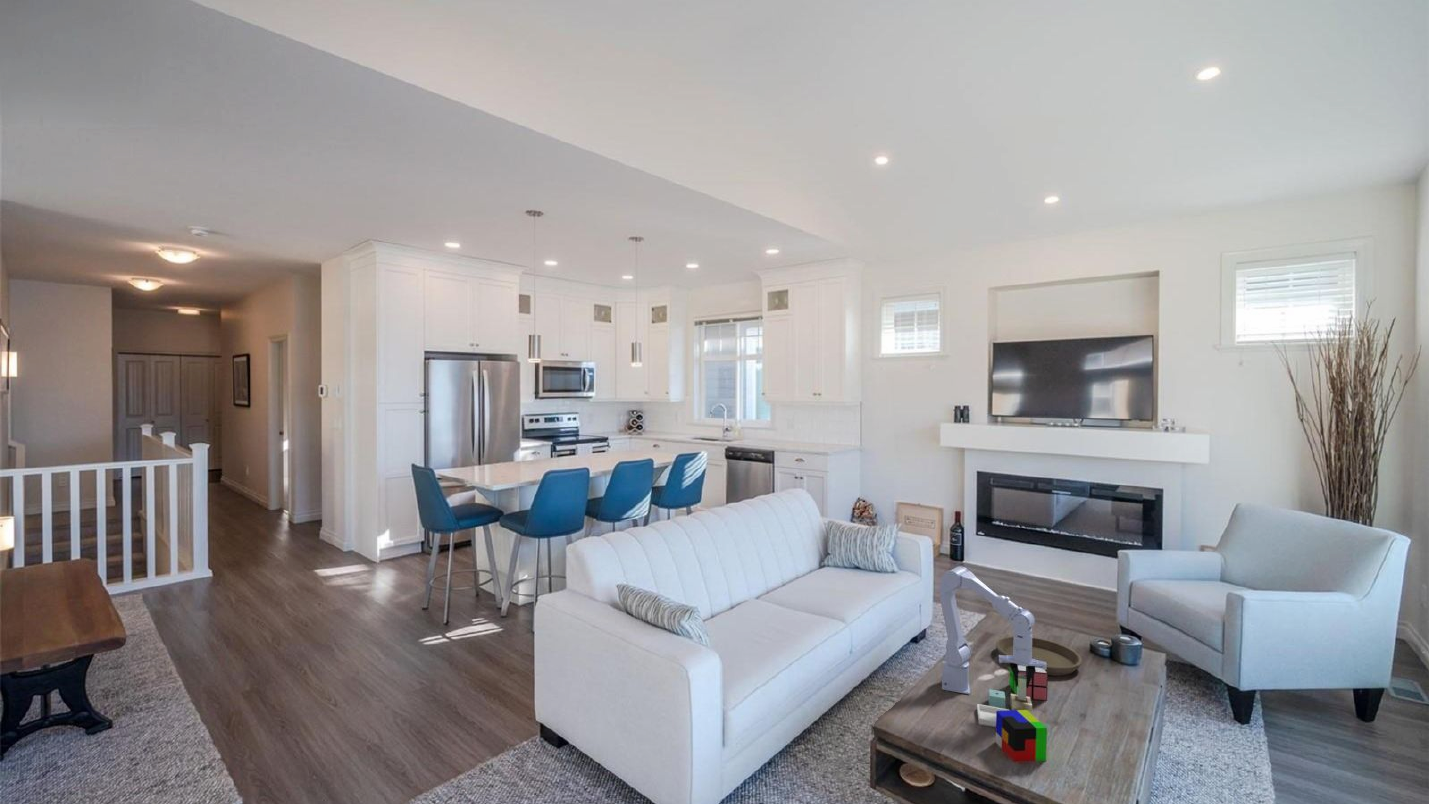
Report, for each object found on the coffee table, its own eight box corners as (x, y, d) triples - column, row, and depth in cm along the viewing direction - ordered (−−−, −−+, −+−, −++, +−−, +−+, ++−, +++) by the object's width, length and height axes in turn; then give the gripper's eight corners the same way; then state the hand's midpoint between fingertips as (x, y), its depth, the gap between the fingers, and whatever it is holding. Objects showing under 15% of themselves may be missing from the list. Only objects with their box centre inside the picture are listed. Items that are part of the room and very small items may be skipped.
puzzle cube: (1047, 701, 215) (1048, 673, 214) (1017, 698, 216) (1017, 670, 216) (1037, 687, 224) (1038, 660, 224) (1008, 684, 226) (1009, 658, 226)
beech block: (1012, 713, 206) (1012, 701, 206) (1010, 704, 212) (1010, 693, 211) (1031, 717, 204) (1032, 705, 204) (1029, 708, 209) (1029, 697, 209)
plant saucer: (1003, 639, 268) (1003, 629, 268) (1085, 658, 250) (1085, 647, 250) (988, 664, 243) (988, 653, 243) (1077, 687, 225) (1078, 675, 225)
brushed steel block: (1017, 699, 207) (1018, 676, 207) (1016, 696, 209) (1017, 673, 209) (1026, 700, 206) (1026, 677, 206) (1025, 697, 208) (1025, 674, 208)
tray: (978, 724, 199) (978, 718, 199) (977, 708, 209) (977, 703, 209) (1012, 730, 195) (1013, 725, 195) (1009, 715, 205) (1009, 709, 205)
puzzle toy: (995, 742, 189) (996, 710, 189) (1026, 741, 190) (1026, 709, 190) (1014, 762, 179) (1014, 729, 179) (1046, 760, 180) (1046, 727, 180)
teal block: (989, 707, 210) (989, 695, 210) (988, 700, 215) (988, 688, 215) (1005, 709, 208) (1005, 698, 208) (1003, 703, 213) (1004, 691, 213)
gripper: (1000, 648, 206) (999, 687, 206) (1048, 655, 201) (1047, 695, 201) (998, 640, 213) (997, 678, 213) (1045, 646, 207) (1044, 685, 208)
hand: (1021, 686), depth 207 cm, fingers closed on brushed steel block, 2 cm apart
